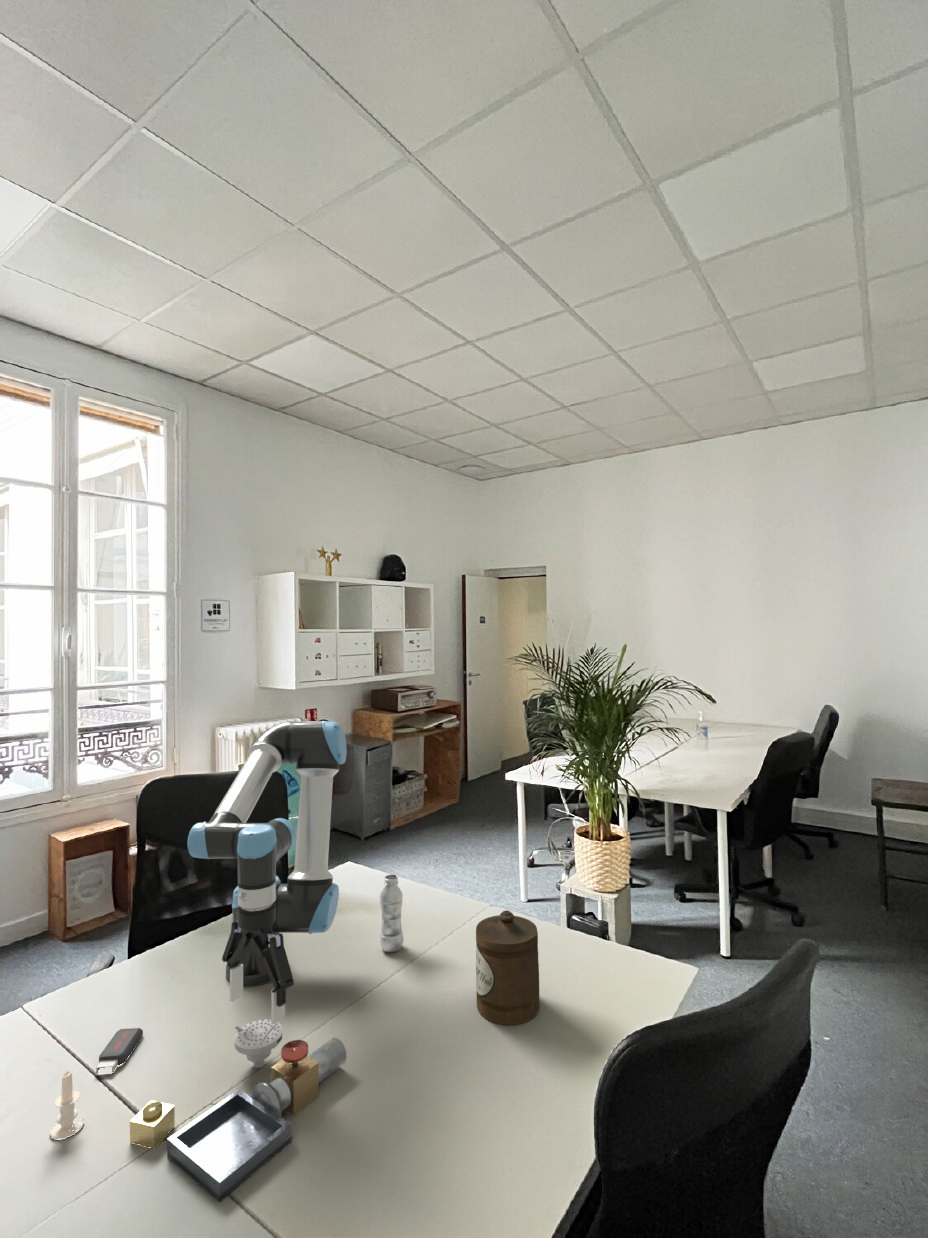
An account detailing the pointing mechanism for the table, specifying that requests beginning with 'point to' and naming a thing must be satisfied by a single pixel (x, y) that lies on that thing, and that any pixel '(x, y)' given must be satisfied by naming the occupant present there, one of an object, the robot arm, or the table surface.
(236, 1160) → the metal assembly
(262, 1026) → the showerhead
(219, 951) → the table surface
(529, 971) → the wooden container
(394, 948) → the plastic bottle
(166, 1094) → the table surface
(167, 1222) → the table surface
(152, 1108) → the brass block
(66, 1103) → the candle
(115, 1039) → the usb drive
